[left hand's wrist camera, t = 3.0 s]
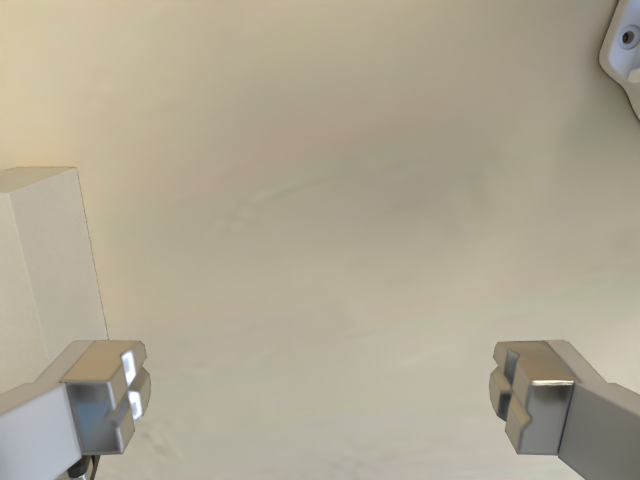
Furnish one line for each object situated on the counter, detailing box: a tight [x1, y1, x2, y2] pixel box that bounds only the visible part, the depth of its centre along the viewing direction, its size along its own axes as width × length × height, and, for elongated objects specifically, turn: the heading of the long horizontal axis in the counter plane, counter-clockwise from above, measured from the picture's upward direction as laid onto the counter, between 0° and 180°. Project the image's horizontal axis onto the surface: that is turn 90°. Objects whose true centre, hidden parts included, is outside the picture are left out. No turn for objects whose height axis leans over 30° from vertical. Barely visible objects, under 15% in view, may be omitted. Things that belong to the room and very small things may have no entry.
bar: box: [0, 167, 108, 394], centre depth 37 cm, size 23×5×9 cm, turn 0°
